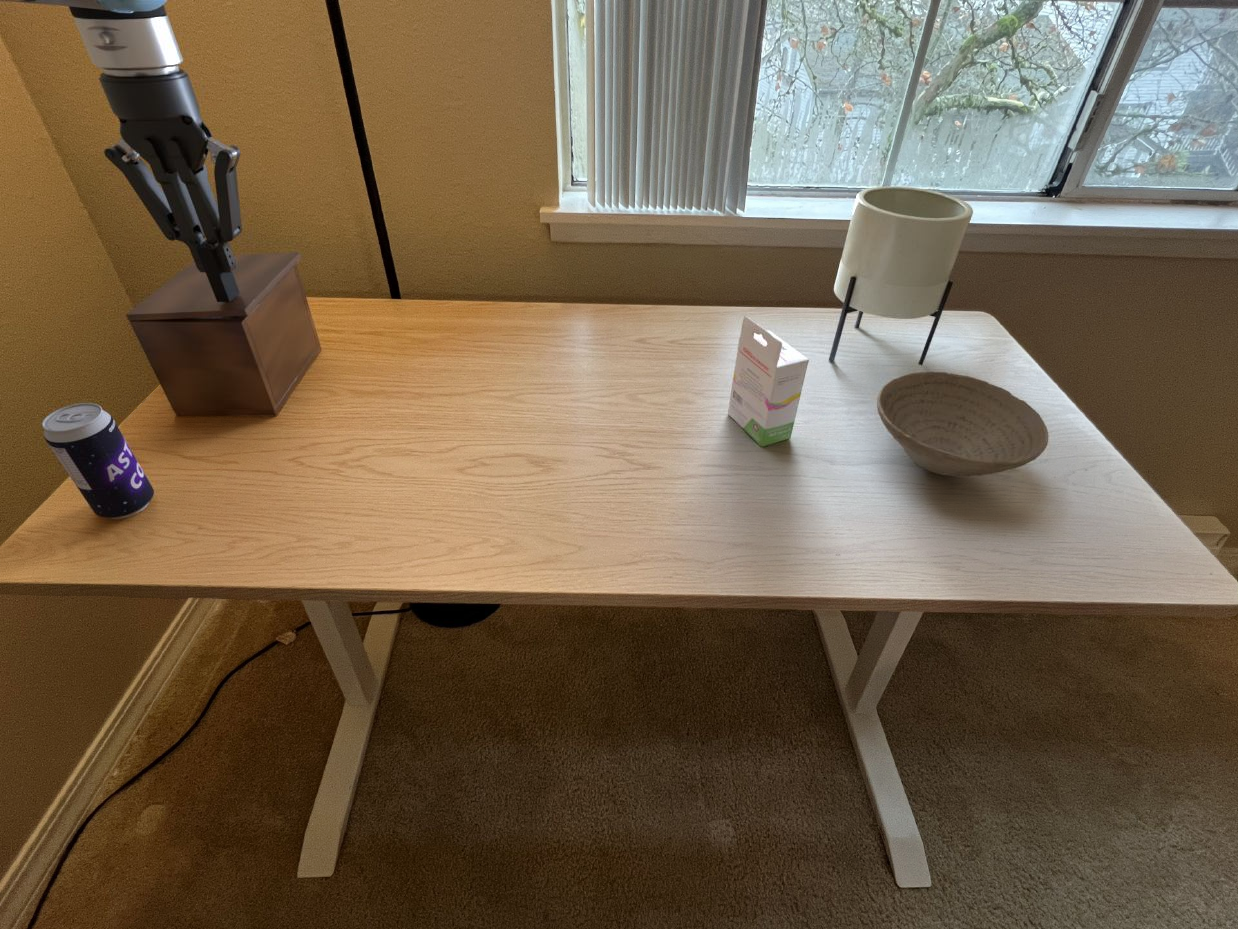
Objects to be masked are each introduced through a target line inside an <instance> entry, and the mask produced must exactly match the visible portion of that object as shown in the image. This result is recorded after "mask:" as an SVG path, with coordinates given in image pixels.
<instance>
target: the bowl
mask: <svg viewBox="0 0 1238 929" xmlns="http://www.w3.org/2000/svg"><path fill="white" fill-rule="evenodd" d="M876 398H877V399H876V409H877V413H878V415H879V419H880V420H881V422H882V424H883V426H884V427H885V429H886V430H887V431H888V433H889V434H890V435H891V436H892V438H893V439H894V440H895V441H896V442H897V443H898V444H899V446H900V447H901V448H902V449H903V451H904V452H905V454H906V455H907V456H908V458H909V459H910V460H911V461H912V462H914V463H915V464H916V465H918V466H920V467H921V468H923V469H924V470H926V471H928V472H931V473H935V474H938V475H943V476H949V477H962V478H963V477H964V478H965V477H966V478H967V477H977V476H984V475H990V474H991V475H992V474H996V473H1001V472H1002V473H1003V472H1007V471H1011V470H1014V469H1017V468H1020V467H1022V466H1025V465H1027V464H1029V463H1031V462H1033V461H1035V460H1036V459H1038V458H1039V457H1040V456H1041V455H1042V454H1043V453H1044V451H1045V450H1046V448H1047V446H1048V444H1049V430H1048V428H1047V425H1046V423H1045V421H1044V420H1043V418H1042V417H1041V415H1040V414H1039V412H1038V411H1036V410H1035V409H1034V408H1033V407H1032V406H1031V405H1030V404H1028V403H1027V402H1026V401H1024V400H1022V399H1020V398H1018V397H1016V396H1014V395H1013V394H1012V393H1011V392H1010V391H1008V390H1006V389H1005V388H1003V387H1000V386H998V385H997V386H996V385H994V384H992V383H989V382H988V381H985V380H982V379H979V378H976V377H973V376H968V375H964V374H963V375H962V374H958V373H952V372H951V373H949V372H944V371H943V372H942V371H920V372H913V373H908V374H904V375H901V376H898V377H895V378H893V379H891V380H890V381H888V382H887V383H885V384H884V385H883V386H882V387H881V389H880V390H879V392H878V395H877V397H876Z"/></svg>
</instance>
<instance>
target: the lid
mask: <svg viewBox="0 0 1238 929" xmlns="http://www.w3.org/2000/svg"><path fill="white" fill-rule="evenodd" d="M233 257H234V260H235V262H236V268H235V269H234V270H233V271H232V273H233V276H234V278H235V281H236V284H237V287H238V289H239V292H240V293H239V294H238V295H237V296H236V297H235V298H234V299H233V300H232V301H231V302H217V300H216V298H215V295H214V293H213V290H212V288H211V285H210V282H209V280H208V277H207V275H206V272H200V271H199V270H198V269H197V267H196V264H195V262H194V260H193V261H191V263H189V264H188V265H186V266H185V267H184V268H183V269H181V270H180V271H179V272H178V273H177V274H175V275H173V277H171V278H170V279H169V280H168V281H166V282H165V283H163V285H161V286H160V287H159V288H157V289H156V290H155V291H154V292H152V293H151V294H150V295H148V296H147V297H146V298H145V299H144V300H142V301H141V302H140V303H139V304H137V305H136V306H134V307H133V308H131V310H130V311H128V312H127V313H126V314H125V316H126V319H127V320H128V322H129V321H137V320H160V319H183V318H206V317H230V316H248V315H249V313H250V312H251V311H252V310H253V309H254V308H255V307H256V306H257V305H258V304H259V303H260V302H261V301H262V300H263V299H264V297H265V296H266V295H267V294H268V293H269V292H270V291H271V290H272V289H273V288H274V287H275V286H276V285H277V284H278V283H279V281H280V280H281V279H282V278H283V277H284V276H285V275H286V274H287V273H288V272H289V271H290V270H291V269H292V268H293V266H294V265H295V264H296V265H297V264H298V263H299V261H300V260H301V259H302V258H303V257H302V254H301V252H299V251H298V252H297V251H295V252H275V253H252V254H251V253H250V254H249V253H248V254H233Z"/></svg>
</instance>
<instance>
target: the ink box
mask: <svg viewBox="0 0 1238 929" xmlns="http://www.w3.org/2000/svg"><path fill="white" fill-rule="evenodd" d="M739 334H740V336H739V338H738V345H737V351H736V358H735V362H734V363H735V364H734V370H733V375H732V376H733V377H732V384H731V388H730V394H729V401H728V408H727V414H728V416H730V418H732V419H733V421H734V422H735V423H736V424H737V425H739V427H740V428H742V430H744V431H745V432H746V433H747V434H748V435H749V436H750V437H751V438H752V439H753V440H754V442H756V443H757V444H758V445H759V446H760V447H766V446H769V445H772V444H776V443H779V442H782V441H785V440H789V439H791V438H792V434H793V430H794V426H795V422H796V421H795V420H796V416H797V412H798V408H799V404H800V400H801V399H800V398H801V396H802V395H801V394H802V391H803V387H804V382H805V378H806V374H807V370H808V366H809V365H808V364H809V362H810V359H809V358H807V357H806V356H805V355H803V354H802V353H801V352H800V351H797V350H796V349H795V348H794V347H792V346H791V345H790V344H788V343H787V342H785V341H784V340H782V338H780V337H779V336H777V335H776V334H775V333H774V332H772V330H766V329H765V328H763V326H761V325H760V324H758V323H757V322H755V321H753V319H751V318H750V317H749V316H747V315H744V316H743V318H742V324H741V329H740V333H739Z"/></svg>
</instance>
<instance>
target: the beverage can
mask: <svg viewBox="0 0 1238 929" xmlns="http://www.w3.org/2000/svg"><path fill="white" fill-rule="evenodd" d="M41 426H42V428H43V429H44V432H43V438H44V440H45V441H46V443H47V444H48V446H49V447H50V449H51V451H52V452H53V454H54V455H55V457H56V458H57V460H58V461H59V463H60V464H61V465H62V467H63V469H64V470H65V472H66V473H67V474H68V476H69V477H70V479H71V481H72V482H73V483H74V485H75V486H76V489H78V491H79V493H80V494H81V495H82V497H83V498H84V501H85V502H86V503H87V504H88V506H89V507H90V509H91V511H92V512H93V513H94V514H95V515H96V516H97V517H100V518H105V519H112V520H122V519H127V518H131V517H134V516H135V515H138V514H139V513H141V512H142V511H144V510H145V509H146V508H147V507H148V506H149V504H150V501H151V500H152V499H153V497H154V495H155V489H154V488H153V486H152V483H151V482H150V480H149V479H148V477H147V475H146V473H145V472H144V470H143V468H142V467H141V464H140V463H139V461H138V459H137V457H136V456H135V454H134V452H133V451H132V449H131V447H130V446H129V444H128V442H127V440H126V438H125V436H124V435H123V433H122V432H121V430H120V428H119V426H118V424H117V422H116V421H115V419H114V418H113V416H112V415H111V414H110V413H109V412H107V411H105V410H104V409H103V408H102V406H100V405H99V404H97V403H92V402H80V403H75V404H74V403H73V404H70V405H67V406H63V407H61V408H59V409H56V410H55V411H53V412H51V413H50V414H48V415H47V416H45V418H44V419H43V420H42V423H41Z"/></svg>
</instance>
